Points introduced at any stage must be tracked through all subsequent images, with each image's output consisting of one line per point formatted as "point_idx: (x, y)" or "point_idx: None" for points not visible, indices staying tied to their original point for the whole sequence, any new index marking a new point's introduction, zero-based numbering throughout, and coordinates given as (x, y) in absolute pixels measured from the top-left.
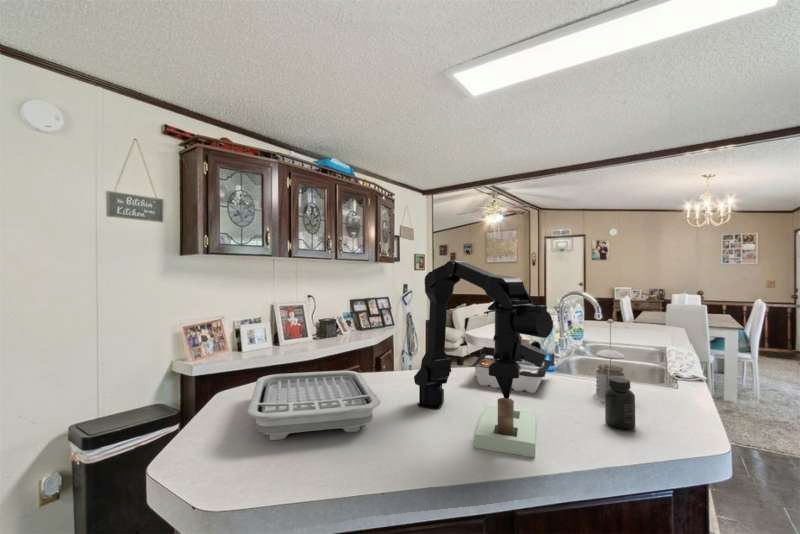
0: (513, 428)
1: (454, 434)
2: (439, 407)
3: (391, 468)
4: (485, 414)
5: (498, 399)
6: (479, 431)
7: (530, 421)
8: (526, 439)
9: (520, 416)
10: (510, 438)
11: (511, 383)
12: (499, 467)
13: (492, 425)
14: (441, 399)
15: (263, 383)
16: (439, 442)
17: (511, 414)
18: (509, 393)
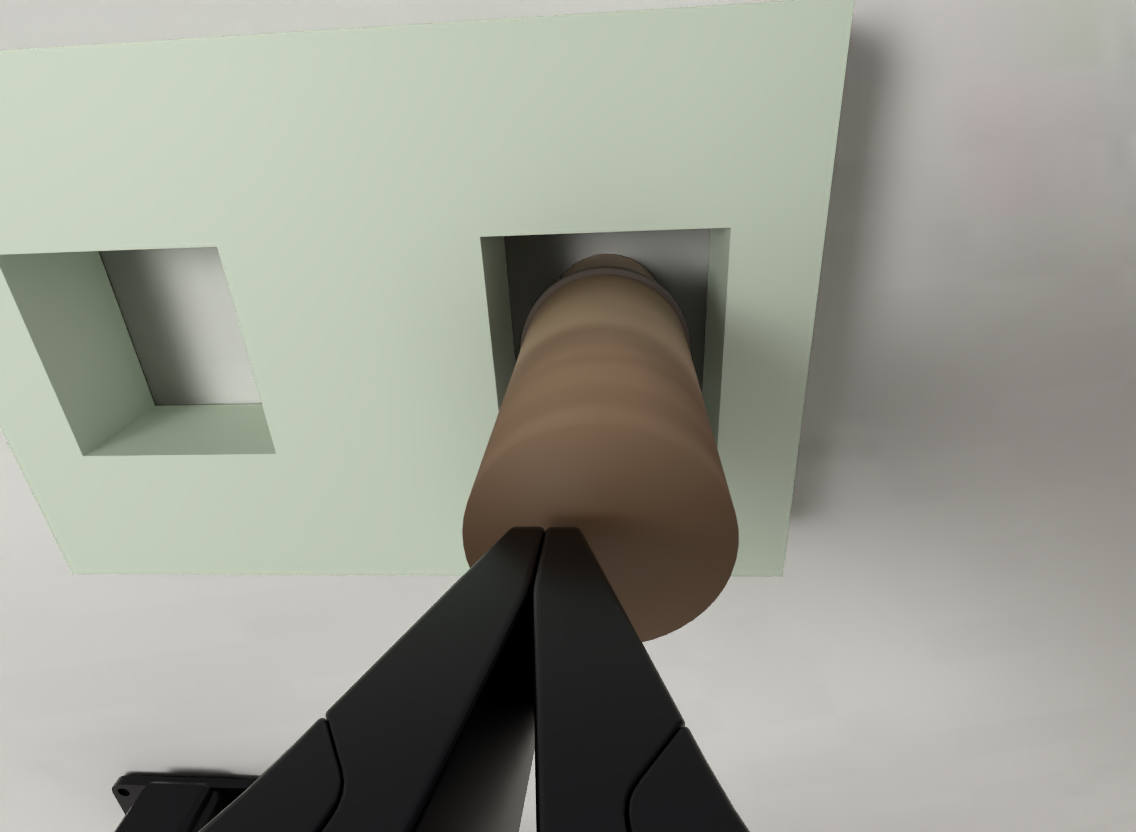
0: (607, 282)
1: None
2: (238, 782)
3: (1127, 815)
4: (308, 551)
5: None
6: None
7: (210, 107)
8: (761, 114)
9: (137, 238)
10: (787, 286)
11: (732, 817)
12: (1052, 307)
13: None
14: (184, 826)
15: None
16: (751, 694)
17: (671, 367)
18: (607, 587)
